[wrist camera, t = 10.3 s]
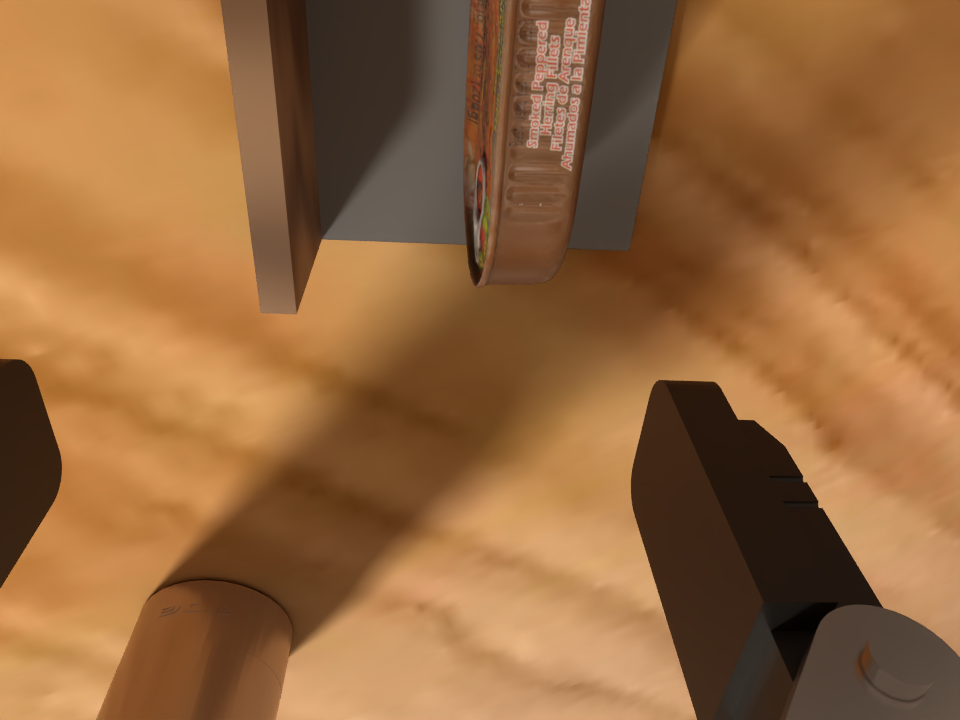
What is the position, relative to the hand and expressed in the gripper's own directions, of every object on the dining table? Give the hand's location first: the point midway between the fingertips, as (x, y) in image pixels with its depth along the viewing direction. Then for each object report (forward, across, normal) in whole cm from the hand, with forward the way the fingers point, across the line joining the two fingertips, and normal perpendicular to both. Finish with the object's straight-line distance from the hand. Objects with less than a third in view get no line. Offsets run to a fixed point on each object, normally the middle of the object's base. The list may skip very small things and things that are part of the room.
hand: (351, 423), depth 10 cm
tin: (+20, -4, -2) cm, 21 cm away
